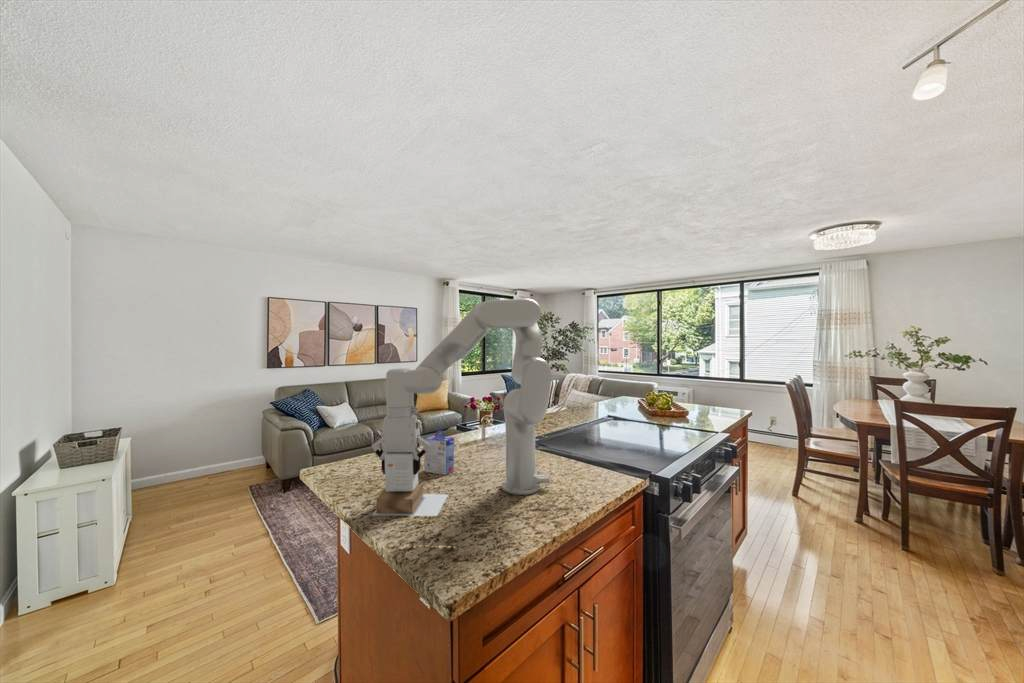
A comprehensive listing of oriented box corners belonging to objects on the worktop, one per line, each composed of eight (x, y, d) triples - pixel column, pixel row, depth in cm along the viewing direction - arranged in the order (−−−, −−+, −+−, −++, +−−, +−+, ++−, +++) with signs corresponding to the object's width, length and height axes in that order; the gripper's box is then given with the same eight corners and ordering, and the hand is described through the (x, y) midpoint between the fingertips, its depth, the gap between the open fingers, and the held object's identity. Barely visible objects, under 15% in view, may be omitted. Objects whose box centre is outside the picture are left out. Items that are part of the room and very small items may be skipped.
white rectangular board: (448, 495, 114) (448, 494, 114) (436, 517, 100) (436, 515, 100) (390, 494, 115) (390, 493, 115) (371, 516, 101) (371, 514, 101)
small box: (418, 483, 110) (418, 448, 110) (412, 491, 104) (412, 454, 104) (391, 483, 110) (391, 448, 110) (384, 491, 104) (384, 454, 104)
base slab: (423, 498, 111) (423, 484, 111) (412, 513, 101) (412, 498, 101) (390, 497, 112) (390, 484, 112) (376, 513, 102) (376, 498, 102)
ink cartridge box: (455, 470, 136) (454, 431, 136) (446, 475, 131) (446, 434, 131) (432, 467, 140) (432, 428, 140) (423, 471, 135) (423, 432, 135)
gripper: (433, 409, 110) (434, 468, 110) (376, 409, 111) (376, 468, 111) (426, 414, 102) (427, 477, 102) (364, 414, 103) (365, 477, 103)
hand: (401, 472), depth 107 cm, fingers closed on small box, 8 cm apart
